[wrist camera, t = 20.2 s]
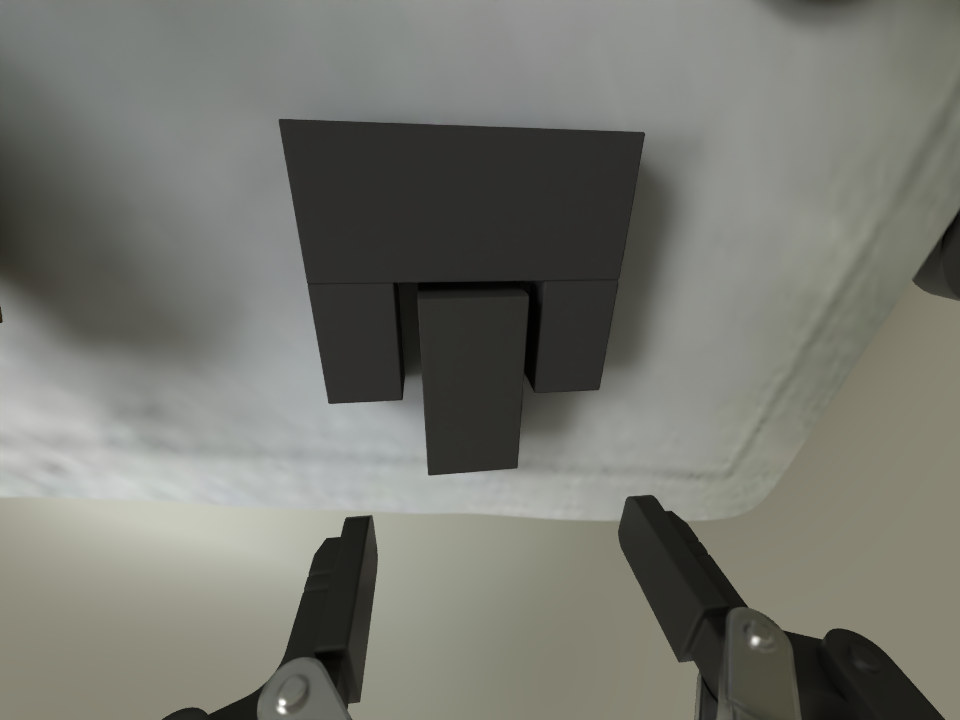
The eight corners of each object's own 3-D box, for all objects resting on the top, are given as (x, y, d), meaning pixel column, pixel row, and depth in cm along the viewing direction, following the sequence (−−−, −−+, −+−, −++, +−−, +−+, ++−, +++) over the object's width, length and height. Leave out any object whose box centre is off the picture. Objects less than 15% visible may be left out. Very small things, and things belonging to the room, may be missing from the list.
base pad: (618, 136, 18) (645, 132, 16) (582, 369, 23) (599, 390, 21) (297, 125, 16) (277, 118, 14) (338, 379, 21) (328, 404, 19)
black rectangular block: (515, 279, 20) (529, 296, 17) (507, 436, 25) (517, 468, 22) (418, 281, 20) (417, 299, 17) (427, 441, 24) (428, 476, 21)
